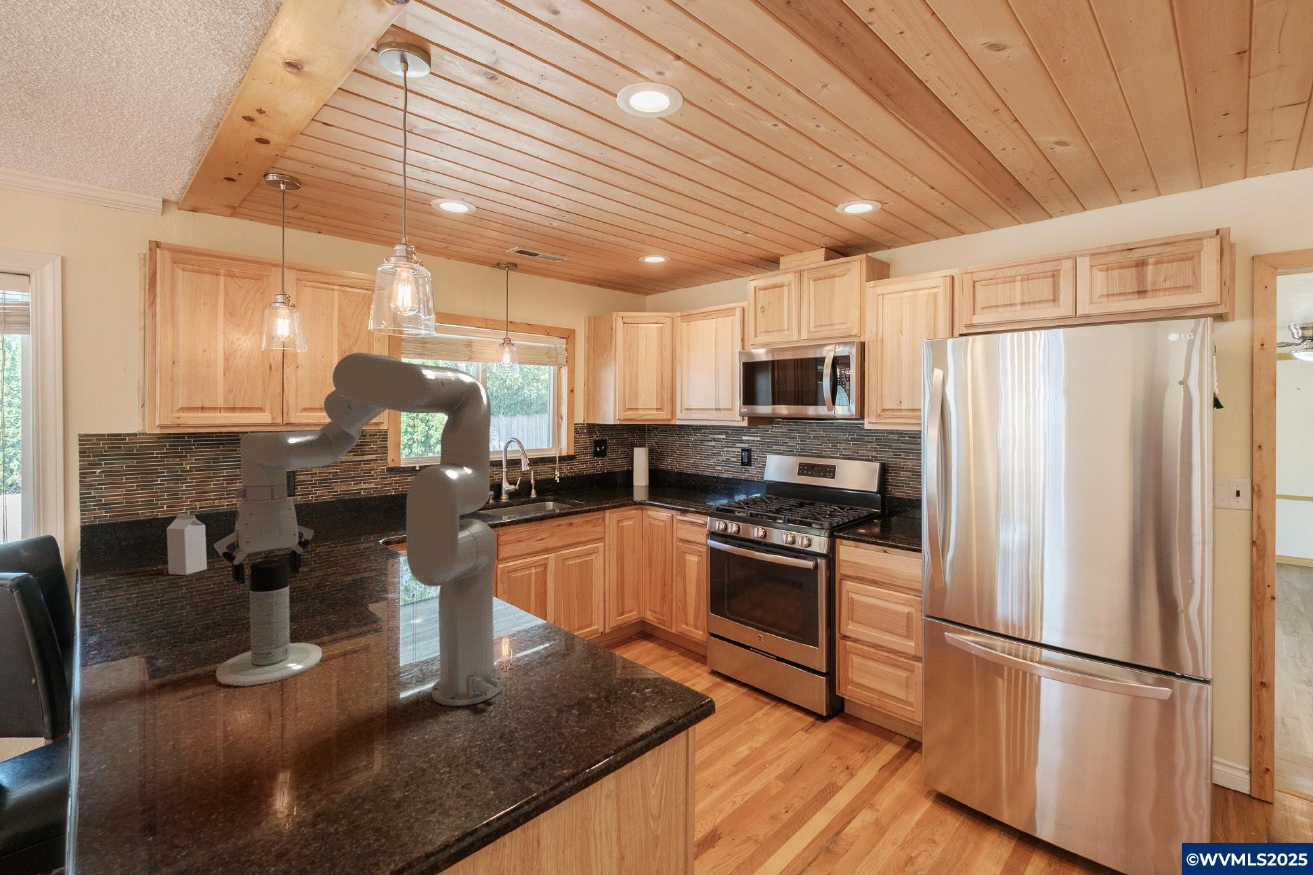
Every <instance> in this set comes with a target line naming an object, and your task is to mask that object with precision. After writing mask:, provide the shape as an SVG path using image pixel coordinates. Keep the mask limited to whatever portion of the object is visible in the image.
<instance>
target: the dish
mask: <svg viewBox="0 0 1313 875" xmlns="http://www.w3.org/2000/svg"><path fill="white" fill-rule="evenodd" d="M321 658H323V650H322V648H321V647H320V646H318V645H317V644H313V643H306V642H295V643H294V642H293V643H292V642H290V655H289V657H288V659H286V660H284V661H282V662H279V663H276V664H272V665H267V666H255V665H253V664H252V662H251V650H249V651H247V652H243V653H241V654H238V655H236V656H234V657H231V658H230V659H228V660H226V661H224V662H223V663H221V664H220V665H219V666H218V667H217V669H216V671H215V677H217V679H218V680H219V681H222V682H224V683H229V684H233V685H255V684H260V683H268V684H271V683H270V682H273V683H275V682H274V681H277V682H279V681H278V680H281V679H284V680H287V679H286V678H288V677H291V678H293V677H292V676H294V677H295V675H296V676H298V674H299V675H301V674H303V673H306V672H307V671H309V670H312V669H313V668H314V667H316V666H317V665H319V663H320V662H321V661H322V659H321ZM320 660H321V661H320ZM316 664H317V665H316ZM305 671H306V672H305ZM288 679H289V678H288ZM281 681H282V680H281Z"/></svg>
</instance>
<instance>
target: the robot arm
mask: <svg viewBox="0 0 1313 875" xmlns="http://www.w3.org/2000/svg"><path fill="white" fill-rule="evenodd" d="M332 384H333V387H334V388H335V389H334V390H332V391H331V392H330V393H328V394H327V395H326V397H325V398H324V401H323V407H324V411H325V414H326V416H327V417H328V419H329V420H330V421H328V423H327V424H325V425H323V426H322V427H321V428H319V429H317V430H294V431H278V432H270V431H269V432H249V433H246V434H243V435H242V436H241V438H240V466H241V486H240V488H239V489H238V490H234V491H233V497H234V498H238V499H239V498H240V499H241V500H242V501H239V502H238V506H237V510H236V517H235V526H234V528H235V529H234V532H232V533H231V534H229V535H227V536H226V537H224V538H222V539H220V540H218V541H217V542H214V545H213V548H214V549H215V550H216V551H217V552H218V554H219V555H220V557H221V558H223V559H225V560H226V561H228V562H229V563H231V574H232V575H231V576H232V580H233V581H235V583H236V584H238V585H243V584H245V583H246V582H245V581H246V580H245V577H246V576H245V564H244V563H243V560H244V559H245V558H246V557H247V555H248V554H257V553H258V554H259V553H263V552H270V551H276V550H283V549H287V548H288V549H290V553H289V554H288V555H289V559H288V560H289V571H290V572H291V573H294V574H299V573H300V568H302V554H303V553H304V550H305V549H306V548H307V547H308V545H309V544H310V542H311V540H312V539H313V536H314V535H315V531H314V529H310V528H307V527H304V526H301V525H299V524H298V519H297V513H296V509H295V508H296V507H295V504H294V501H293V498H292V497H288V479H287V478H288V477H287V476H288V475H287V471H292V470H301V469H308V468H310V469H311V468H320V467H324V466H327V465H330V464H332V463H333V462H336V461H338V459H340V458H342V456H344V455H345V454H347V453H348V452H349V451H351V450H352V449H353V448H355V446H356V445H357V444H358V442H359V440H360V437H361V435H362V433H363V428H364V427H365V426H366V425H367V424H369V423H370V422H372V421H373V420H374V419H376V418H377V417H378V416H380V415H381V414H382V413H384V412H385V411H386V410H391V411H394V412H395V411H396V412H401V413H407V414H445V415H446V416H447V418H446V422H445V423H444V426H443V429H442V432H441V435H440V436H441V437H440V462H439V464H435V465H429V466H428V467H425V468H424V469H422V470H420V471H419V472H418V473H417V474H416V475H415V476H414V477H413V478H412V480H411V482H410V484H409V487H408V490H407V494H406V515H405V516H406V517H405V518H406V559H407V560H406V561H407V566H408V568H409V571H410V573H411V575H412V576H413V578H414V579H415V580H416V581H417V582H418V583H420V584H421V585H423V586H427V587H439V592H438V634H439V636H438V638H439V640H438V641H439V678H440V679H438V680H437V681H436V682H435V683H434V684H433V685H432V687H431V690H430V691H431V698H432V700H433V701H435V702H436V703H438V704H440V705H443V706H453V707H458V706H459V707H461V706H470V705H475V704H478V703H481V702H482V703H483V702H485V701H487V700H489V699H491V698H493V697H495V696H496V695H497V694H498V693H500V692H501V691H502V689H503V686H504V678H503V677H502V675H501V674H500V673H498V672H497V667H496V666H495V654H494V653H495V647H494V645H495V644H494V643H495V642H494V637H495V636H494V574H495V565H496V560H497V554H498V552H497V551H498V550H497V549H498V547H497V546H498V545H497V544H498V543H497V539H496V536H495V533H494V531H493V529H492V528H491V527H490V525H488V524H487V523H485V522H484V521H482V520H480V519H476V518H466V519H460V517H461V516H464V515H467V514H471V513H473V512H475V511H478V510H480V509H481V508H483V507H484V506H485V504H487V503H488V499H489V498H490V497H489V496H490V492H491V491H490V490H491V488H490V485H491V484H490V483H491V480H490V479H491V477H490V476H491V472H490V471H491V466H490V463H491V447H490V446H491V445H490V440H491V439H490V435H491V433H490V432H491V419H492V418H491V416H492V410H491V409H492V408H491V405H492V404H491V400H490V396H489V394H488V391H487V389H486V387H485V386H484V385H483V383H482V382H481V381H479V380H478V378H476V377H475V376H473V375H472V374H470V373H467V372H465V371H463V370H460V369H457V368H453V367H447V366H438V365H430V364H429V365H428V364H421V363H413V362H405V361H402V360H400V359H399V358H397V357H392V356H388V355H382V354H375V353H368V352H367V353H366V352H353V353H351V354H350V353H349V354H348V355H345V356H343V358H341V359H340V360H339V361H338V362H337V364H336V365H335V366H334V369H333V371H332ZM299 533H302V534H303V536H302V538H301V539H300V541H299ZM232 543H234V546H235V549H236V550H235V551H234V552H233V553H231V552H229V550H228V549H227V546H229V545H230V544H232Z"/></svg>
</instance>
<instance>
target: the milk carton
mask: <svg viewBox="0 0 1313 875" xmlns="http://www.w3.org/2000/svg"><path fill="white" fill-rule="evenodd" d="M166 539H167V540H166V543H167V544H166V545H167V547H166V548H167V569H168V574H169V575H178V576H179V575H181V576H187V575H191V574H194V573H198V572H201V571H206V570H207V569H208V566H207V565H208V564H207V563H208V562H207V542H206V541H207V536H206V525H205V524H204V523H203V522H201V521H200V520H198V519H197V518H196V515H195V514H176V518H175V519H174V520H173V521H172V522H171V523H170V525H168V527H167V528H166Z"/></svg>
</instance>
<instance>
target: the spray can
mask: <svg viewBox="0 0 1313 875" xmlns="http://www.w3.org/2000/svg"><path fill="white" fill-rule="evenodd" d="M249 568H250V569H249V570H250V575H249V576H250V579H249V612H250V614H249V616H250V617H249V618H250V651H251V662H252V664H253V665H255V666H267V665H272V664H276V663H279V662H282V661H284V660H286V659H288V657H289V655H290V643H291V637H290V635H291V634H290V633H291V631H290V629H291V628H290V627H291V626H290V579H289V578H290V575H289V562H288V561H286V560H285V559H280V558H279V559H278V558H277V559H266V560H260V561H257V562H253V563H251V564H250V567H249Z"/></svg>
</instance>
